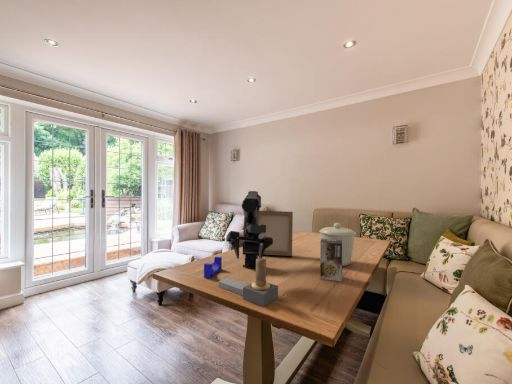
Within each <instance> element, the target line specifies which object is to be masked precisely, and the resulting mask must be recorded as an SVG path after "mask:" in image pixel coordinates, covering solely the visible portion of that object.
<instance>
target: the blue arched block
mask: <svg viewBox="0 0 512 384" xmlns="http://www.w3.org/2000/svg"><path fill="white" fill-rule="evenodd" d="M213 258H214V260H213V262H211V263H207V262H205V263H204V264H203V278H204V279H212V278H213V277H214V276H215V275H216V274H218V273H219V272H220V271H221V270H222V268H223V267H222V265H223V264H222V260H223V259H222V256H214V257H213Z"/></svg>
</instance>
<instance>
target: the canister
mask: <svg viewBox="0 0 512 384" xmlns="http://www.w3.org/2000/svg"><path fill="white" fill-rule="evenodd" d="M318 232H319V234H320V240H321V239H329V240H342V267H345V266H348V265H350V263H351V261H352V258H353V257H352V255H353V249H354V242H355V237H356V235H357V232H356V231H354V230H352V229H351V228H347V227H342V224H341V223H340V222H334V223H333V226H327V227H322V228H321V229H319V230H318Z"/></svg>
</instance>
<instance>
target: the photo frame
mask: <svg viewBox="0 0 512 384" xmlns="http://www.w3.org/2000/svg"><path fill="white" fill-rule="evenodd" d="M293 212H294V211H281V210H280V211H279V210H277V211H276V210H271V211H270V210H259V212H258V213H257V224H258V226H261V225H262V224H263V225H266V232H265V233H261V234H259V236H258V237H259V238H260V239H262V238H263V237H264V236H266V237H272V239H273V244H272V245H271V246H270V247H268V248H266V249H265V251H264V254H263V255H267V256H268V255H270V256H286V257H287V256H288V257H293V228H294V227H293V226H294V225H293V223H294V222H293V218H294V216H293V215H294V213H293Z"/></svg>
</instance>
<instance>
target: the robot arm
mask: <svg viewBox="0 0 512 384" xmlns="http://www.w3.org/2000/svg"><path fill="white" fill-rule="evenodd" d="M261 208H262V197H261V195H260V194H259V192H258V191H256V190H250V191H248V194H247V195H246V196H245V197H244V199H243V200H242V202H241V209H242V213H243V216H244V217H243V227H242V231H243V232H242V233H243V234H242V235H240V234H241V233H240V231H234V230H229V232H228V233H227V235H226V239H225V241H226V242H227V243H228V244H229V245H231V246H232V248H233V252H234V254H235V256H236V259H240V241H243V242H242V255H243V256H244V264H242V267H244V268H247V269H251V270H255V269H256V259H258V258H263V256H264V255H265V254H264V251H265V249H266V248H268V247H270V246H271V245H272V244H273V239H272V237H266V236H264V237H263V238H262V239H260V238H259V237H258V236H259V234H261V233H265V232H266V225H263V224H262V225H261V226H258V224H257V213H258V212H259V211H261V210H260V209H261Z"/></svg>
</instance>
